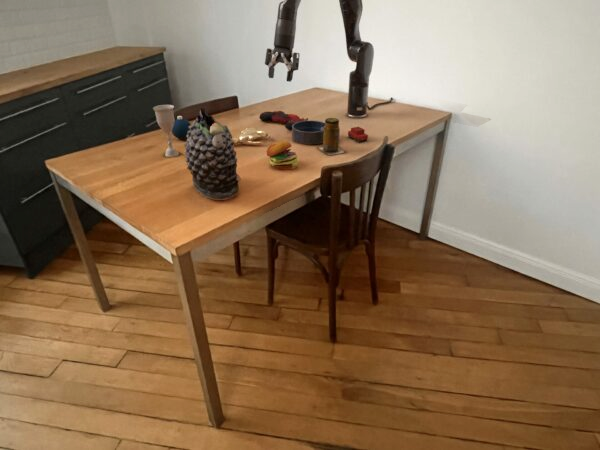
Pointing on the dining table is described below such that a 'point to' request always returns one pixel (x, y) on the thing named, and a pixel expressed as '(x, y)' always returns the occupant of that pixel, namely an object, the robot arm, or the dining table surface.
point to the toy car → (357, 134)
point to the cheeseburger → (282, 155)
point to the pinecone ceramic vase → (211, 158)
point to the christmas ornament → (181, 128)
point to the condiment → (331, 137)
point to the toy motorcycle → (281, 118)
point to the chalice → (166, 125)
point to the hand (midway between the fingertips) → (279, 79)
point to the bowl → (308, 132)
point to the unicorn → (250, 136)
